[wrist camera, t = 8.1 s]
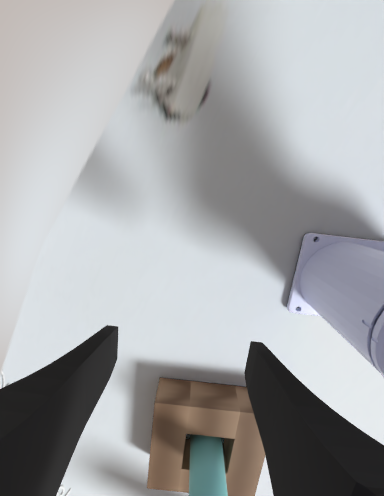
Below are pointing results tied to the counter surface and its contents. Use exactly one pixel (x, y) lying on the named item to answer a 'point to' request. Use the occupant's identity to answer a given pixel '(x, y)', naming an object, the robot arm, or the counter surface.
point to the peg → (206, 466)
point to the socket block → (204, 434)
